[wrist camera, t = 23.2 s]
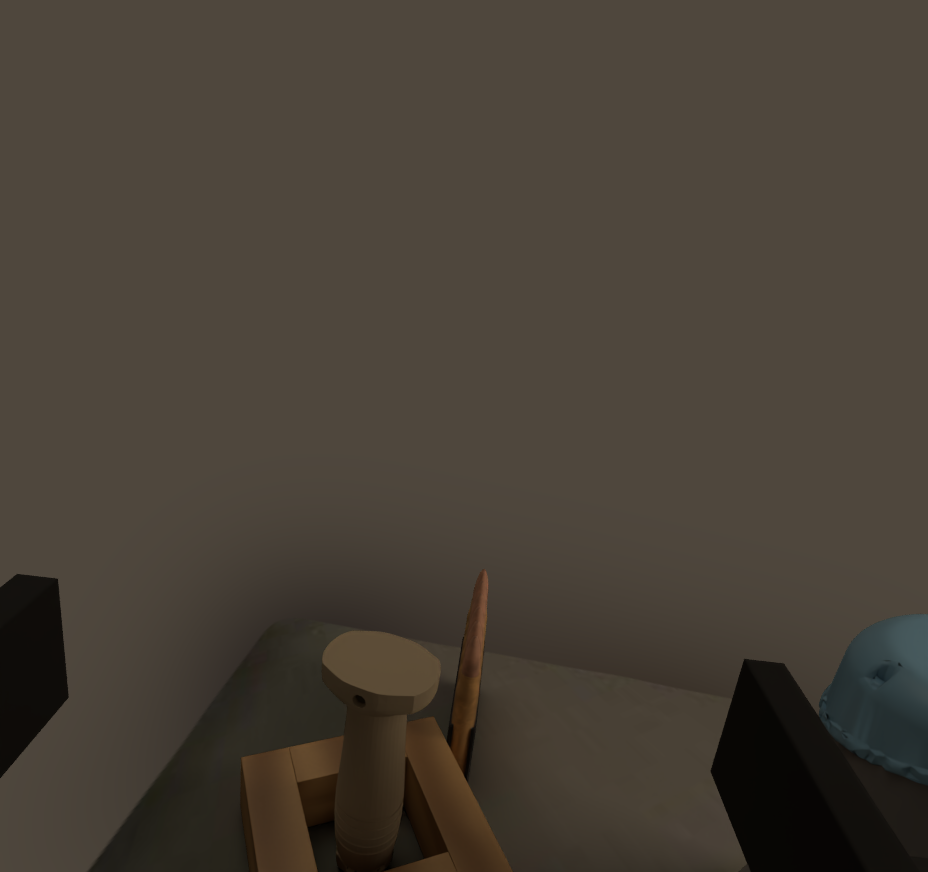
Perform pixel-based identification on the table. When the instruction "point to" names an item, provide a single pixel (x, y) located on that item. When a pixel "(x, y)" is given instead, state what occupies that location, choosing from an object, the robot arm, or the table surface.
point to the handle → (374, 738)
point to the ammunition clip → (469, 679)
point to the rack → (313, 802)
